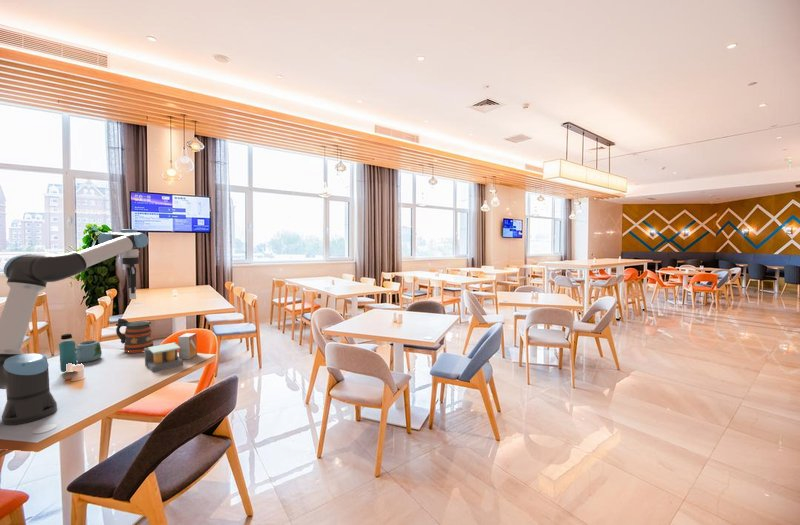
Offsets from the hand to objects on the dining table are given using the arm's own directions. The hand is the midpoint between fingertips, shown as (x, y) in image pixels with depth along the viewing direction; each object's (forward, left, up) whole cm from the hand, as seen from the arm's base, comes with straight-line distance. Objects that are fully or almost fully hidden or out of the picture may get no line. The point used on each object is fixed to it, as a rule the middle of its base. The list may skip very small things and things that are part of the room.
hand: (132, 298), depth 201 cm
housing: (+9, -23, -35) cm, 42 cm away
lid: (+9, -23, -26) cm, 35 cm away
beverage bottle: (-28, 0, -35) cm, 45 cm away
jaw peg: (+12, -23, -35) cm, 43 cm away
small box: (+22, -17, -35) cm, 44 cm away
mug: (-20, +16, -35) cm, 43 cm away
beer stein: (+3, +20, -35) cm, 40 cm away
